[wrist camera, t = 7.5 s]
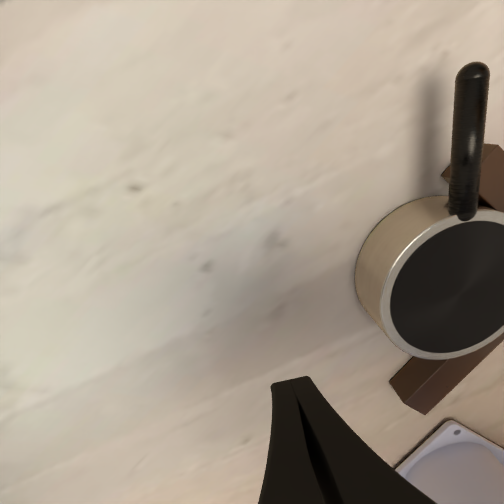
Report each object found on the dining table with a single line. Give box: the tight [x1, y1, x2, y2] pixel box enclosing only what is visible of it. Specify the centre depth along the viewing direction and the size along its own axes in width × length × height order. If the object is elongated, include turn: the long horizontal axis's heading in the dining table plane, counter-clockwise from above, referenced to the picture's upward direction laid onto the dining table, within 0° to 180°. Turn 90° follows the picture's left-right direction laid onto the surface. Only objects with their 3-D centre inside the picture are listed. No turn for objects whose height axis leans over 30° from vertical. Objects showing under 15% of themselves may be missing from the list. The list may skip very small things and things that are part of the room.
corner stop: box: [389, 144, 504, 415], centre depth 19 cm, size 9×13×2 cm
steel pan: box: [355, 62, 504, 360], centre depth 16 cm, size 14×8×3 cm, turn 10°
